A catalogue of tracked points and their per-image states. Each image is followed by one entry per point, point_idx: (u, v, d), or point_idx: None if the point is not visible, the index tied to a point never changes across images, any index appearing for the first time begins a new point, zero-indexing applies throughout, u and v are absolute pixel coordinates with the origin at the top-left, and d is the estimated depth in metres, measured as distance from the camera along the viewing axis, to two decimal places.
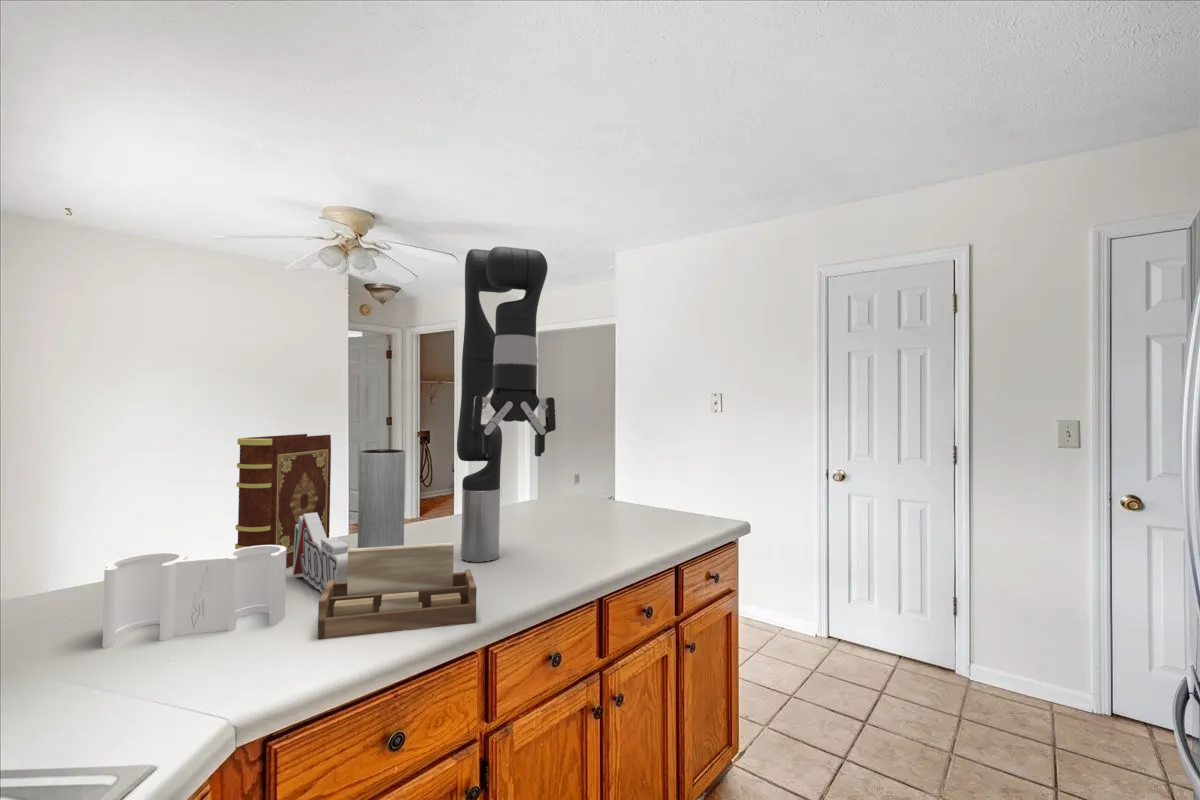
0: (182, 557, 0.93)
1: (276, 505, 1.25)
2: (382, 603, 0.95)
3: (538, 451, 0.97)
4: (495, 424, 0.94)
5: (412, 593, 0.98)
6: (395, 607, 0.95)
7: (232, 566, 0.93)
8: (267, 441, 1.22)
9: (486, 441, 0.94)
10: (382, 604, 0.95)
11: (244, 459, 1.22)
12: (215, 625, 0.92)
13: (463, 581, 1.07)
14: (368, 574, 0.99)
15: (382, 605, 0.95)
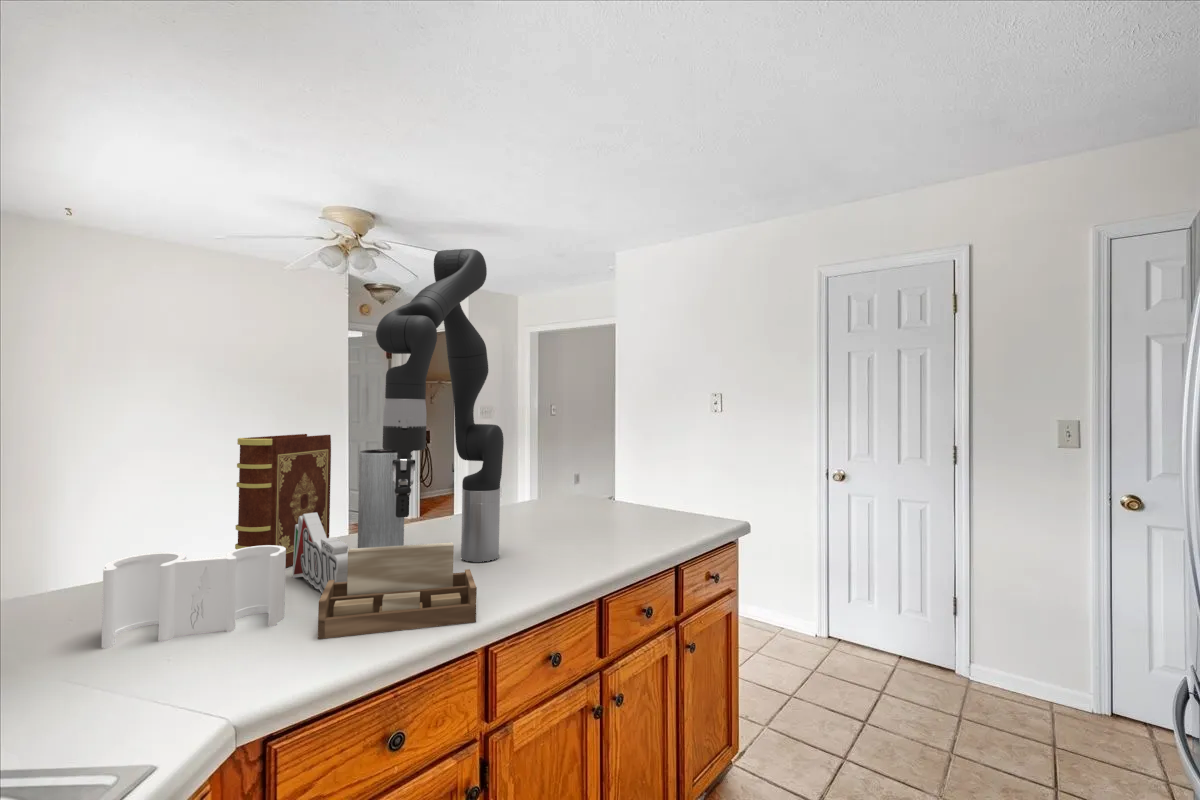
0: (181, 557, 0.93)
1: (276, 505, 1.25)
2: (383, 603, 0.95)
3: None
4: (411, 484, 0.99)
5: (413, 593, 0.98)
6: (396, 607, 0.95)
7: (231, 566, 0.92)
8: (267, 441, 1.22)
9: (407, 501, 0.98)
10: (383, 604, 0.95)
11: (244, 459, 1.22)
12: (214, 626, 0.92)
13: (463, 581, 1.07)
14: (368, 574, 0.99)
15: (383, 605, 0.95)
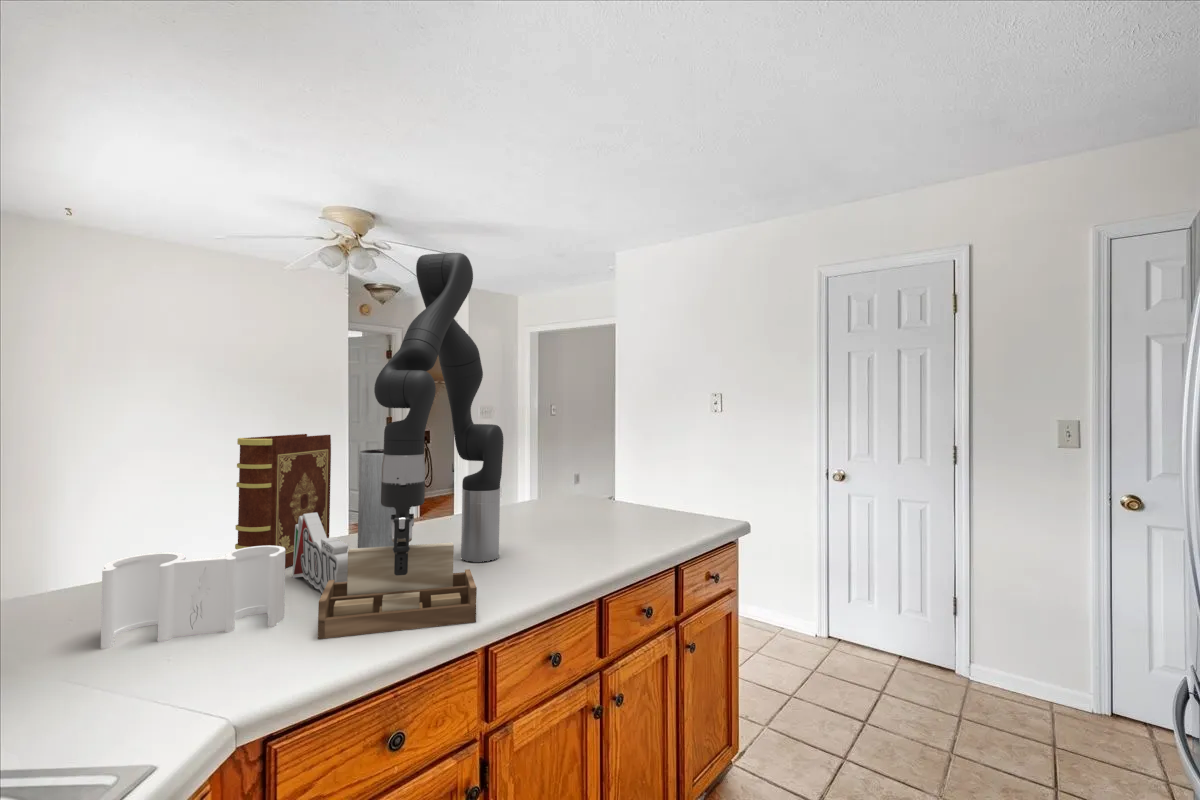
0: (181, 558, 0.93)
1: (276, 505, 1.25)
2: (383, 603, 0.95)
3: None
4: (409, 540, 0.99)
5: (413, 593, 0.98)
6: (396, 607, 0.95)
7: (230, 567, 0.92)
8: (267, 441, 1.22)
9: (405, 559, 0.97)
10: (383, 604, 0.95)
11: (244, 459, 1.22)
12: (213, 626, 0.92)
13: (463, 581, 1.07)
14: (368, 574, 0.99)
15: (383, 605, 0.95)
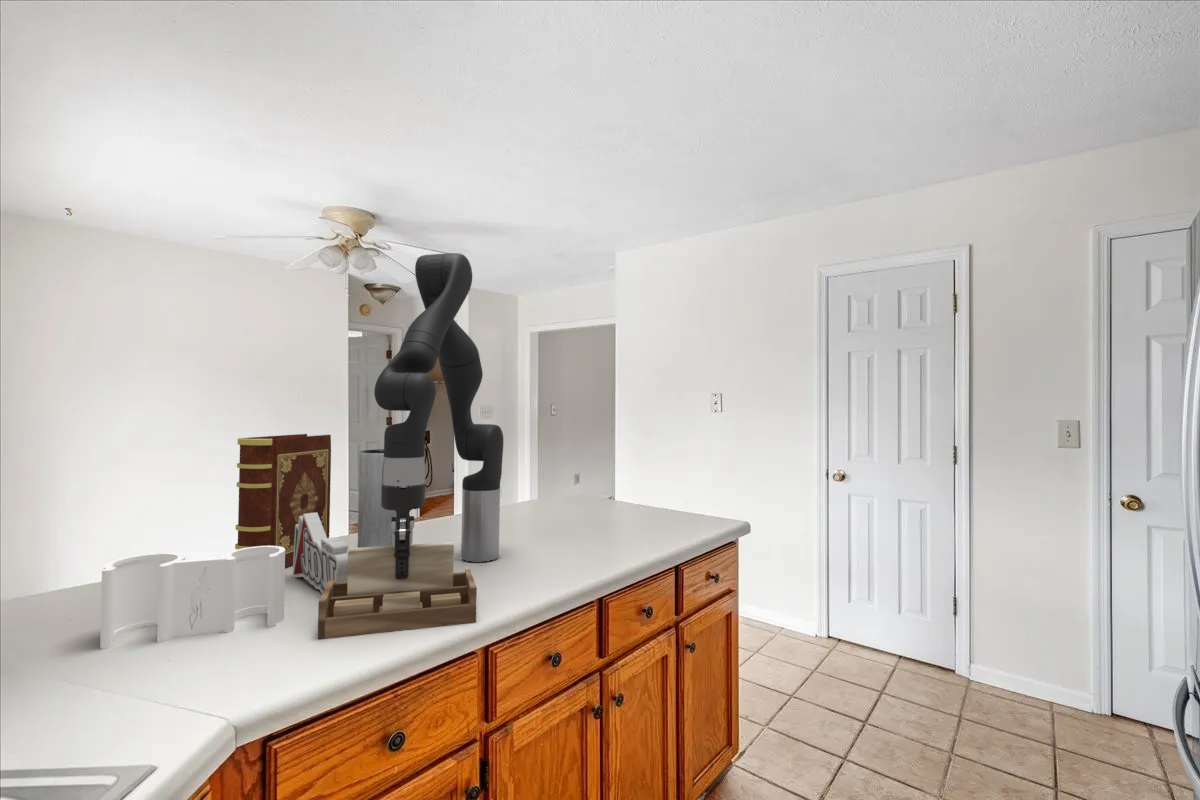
0: (180, 558, 0.93)
1: (276, 505, 1.25)
2: (383, 603, 0.95)
3: None
4: None
5: (413, 593, 0.98)
6: (396, 607, 0.95)
7: (230, 567, 0.92)
8: (267, 441, 1.22)
9: (406, 564, 1.00)
10: (383, 604, 0.95)
11: (244, 459, 1.22)
12: (213, 626, 0.92)
13: (463, 581, 1.07)
14: (369, 574, 0.99)
15: (383, 605, 0.95)
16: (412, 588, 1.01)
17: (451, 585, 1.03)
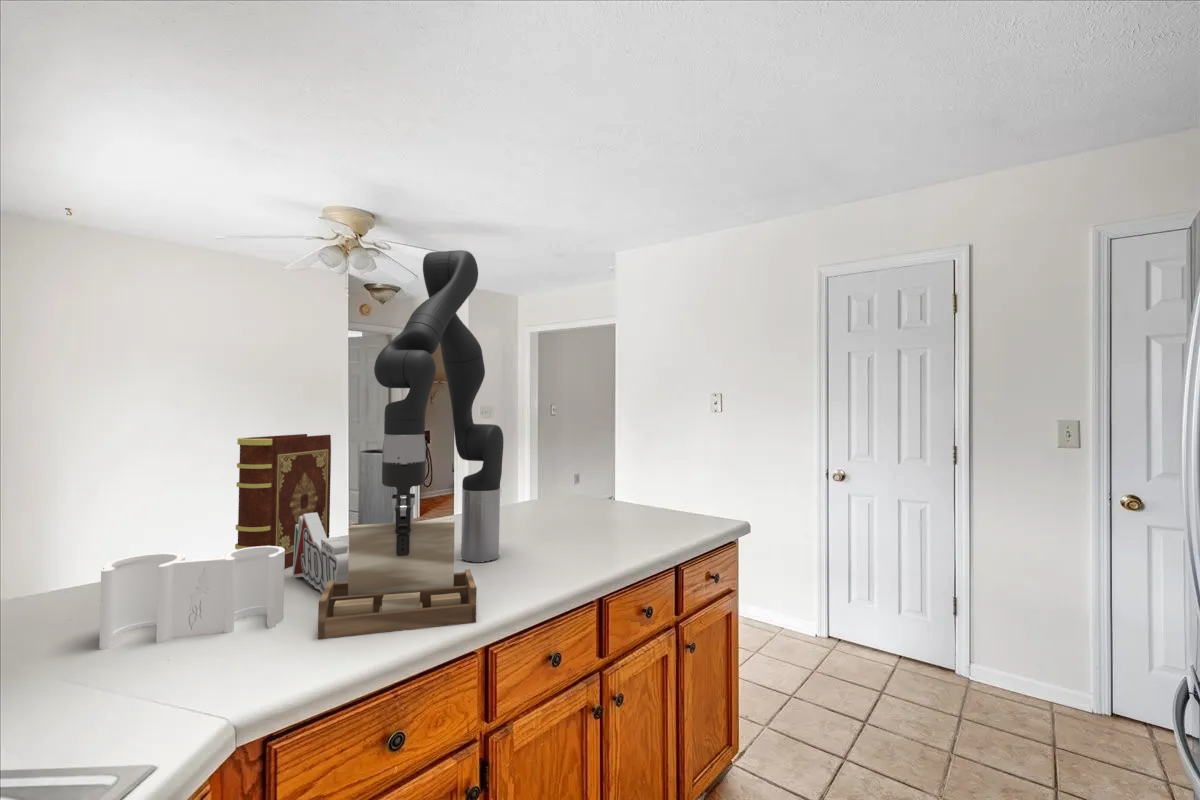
0: (180, 558, 0.92)
1: (276, 505, 1.25)
2: (383, 603, 0.95)
3: None
4: None
5: (413, 593, 0.98)
6: (396, 607, 0.95)
7: (229, 567, 0.92)
8: (267, 441, 1.22)
9: (407, 540, 1.00)
10: (383, 604, 0.95)
11: (244, 459, 1.22)
12: (212, 627, 0.91)
13: (463, 581, 1.07)
14: (370, 550, 0.99)
15: (383, 605, 0.95)
16: (413, 565, 1.01)
17: (452, 562, 1.04)
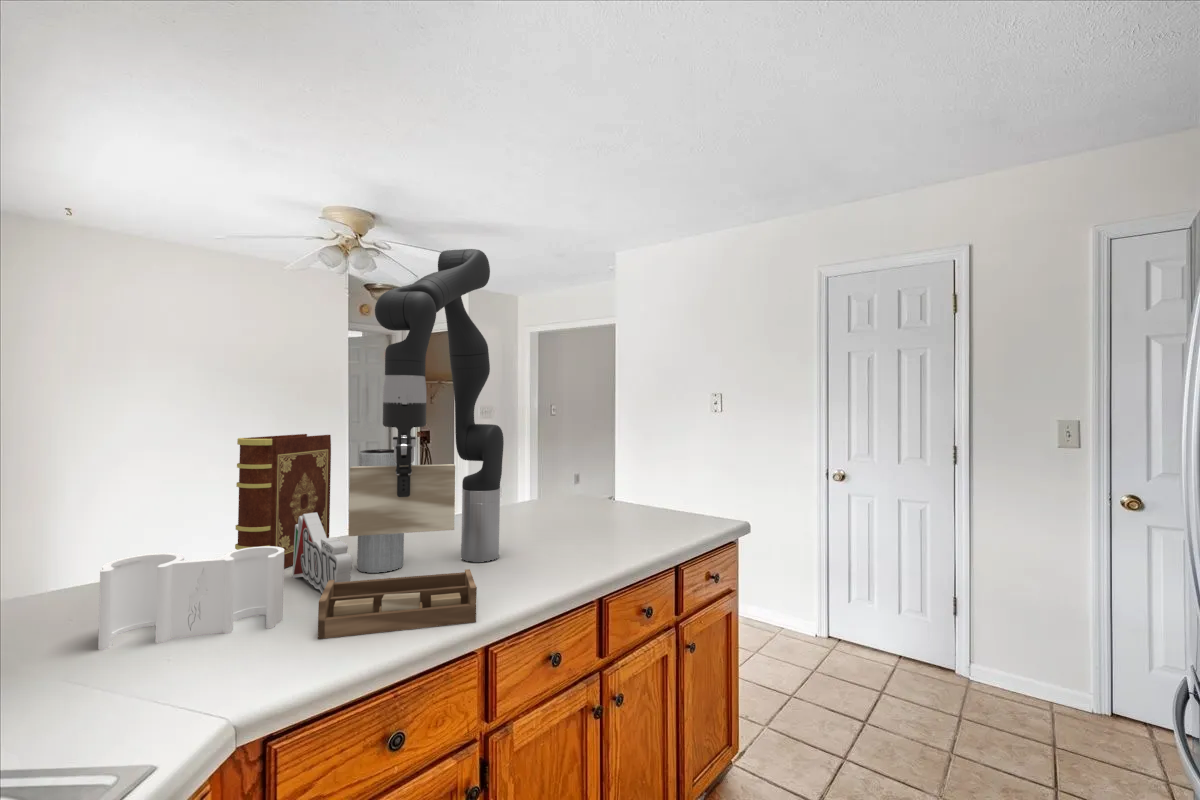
0: (179, 558, 0.92)
1: (276, 505, 1.25)
2: (382, 603, 0.95)
3: None
4: None
5: (413, 594, 0.98)
6: (395, 607, 0.95)
7: (229, 568, 0.92)
8: (267, 441, 1.22)
9: (407, 481, 1.00)
10: (382, 604, 0.95)
11: (244, 459, 1.22)
12: (212, 627, 0.91)
13: (463, 581, 1.07)
14: (370, 491, 0.99)
15: (382, 605, 0.95)
16: (414, 507, 1.01)
17: (453, 505, 1.04)
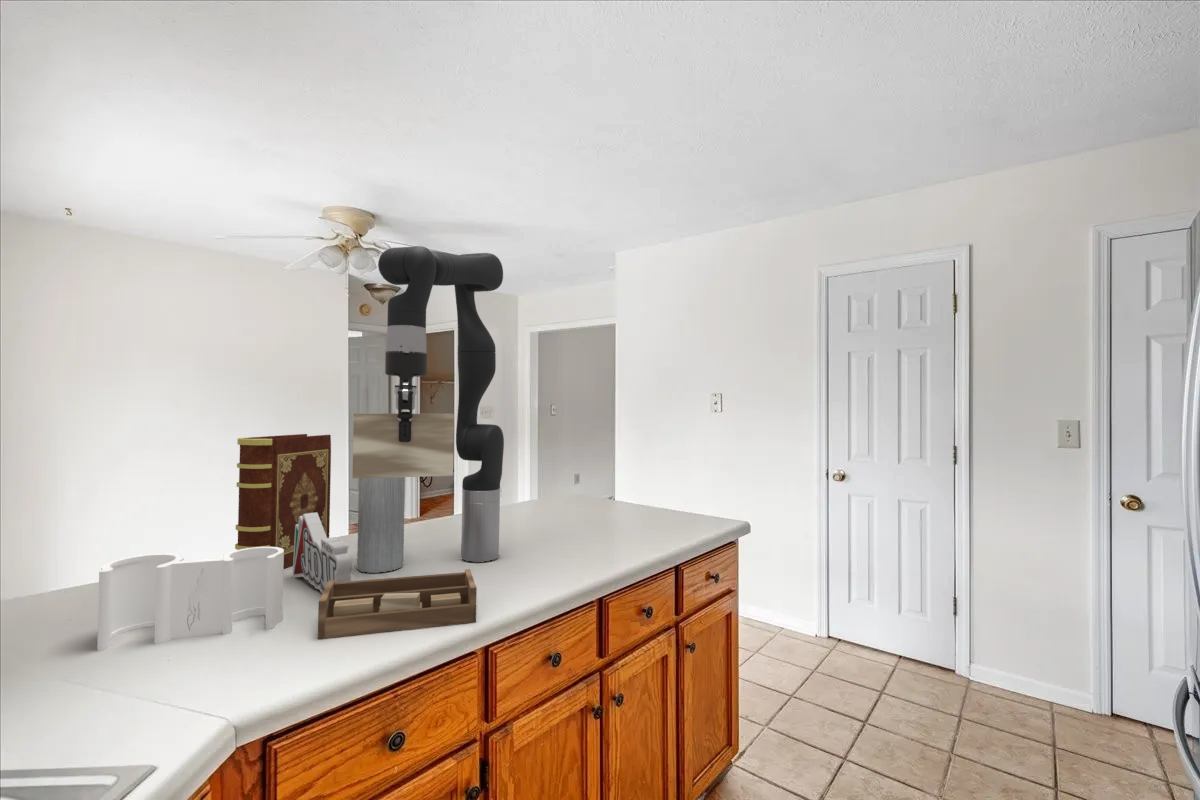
0: (178, 559, 0.92)
1: (276, 505, 1.25)
2: (381, 602, 0.95)
3: None
4: (412, 409, 1.06)
5: (413, 594, 0.98)
6: (394, 607, 0.95)
7: (228, 568, 0.91)
8: (267, 441, 1.22)
9: (409, 427, 1.05)
10: (381, 603, 0.95)
11: (244, 459, 1.22)
12: (211, 628, 0.91)
13: (463, 581, 1.07)
14: (373, 436, 1.04)
15: (381, 604, 0.95)
16: (414, 452, 1.06)
17: (451, 452, 1.09)
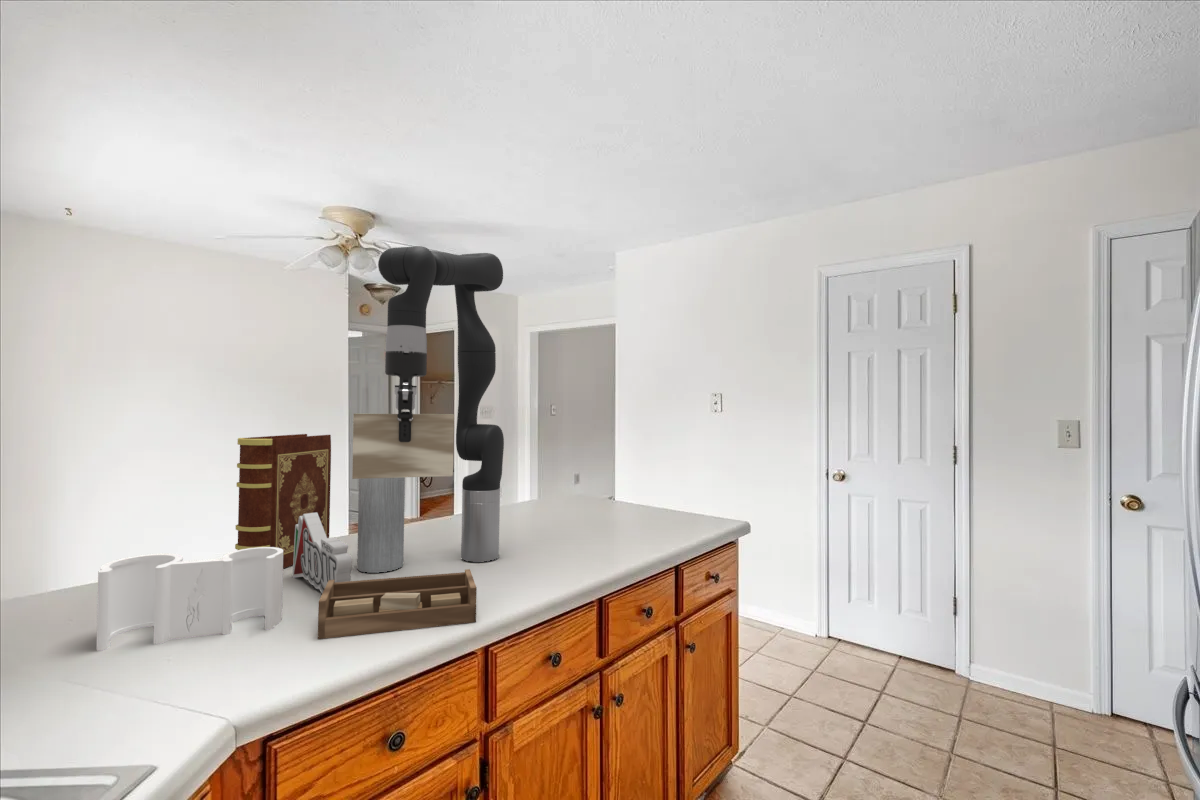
0: (178, 559, 0.92)
1: (276, 505, 1.25)
2: (381, 602, 0.95)
3: None
4: (412, 409, 1.06)
5: (413, 594, 0.98)
6: (393, 607, 0.96)
7: (227, 569, 0.91)
8: (267, 441, 1.22)
9: (409, 427, 1.05)
10: (381, 603, 0.95)
11: (244, 459, 1.22)
12: (210, 628, 0.91)
13: (463, 581, 1.07)
14: (373, 436, 1.04)
15: (381, 603, 0.95)
16: (414, 453, 1.06)
17: (451, 452, 1.09)
